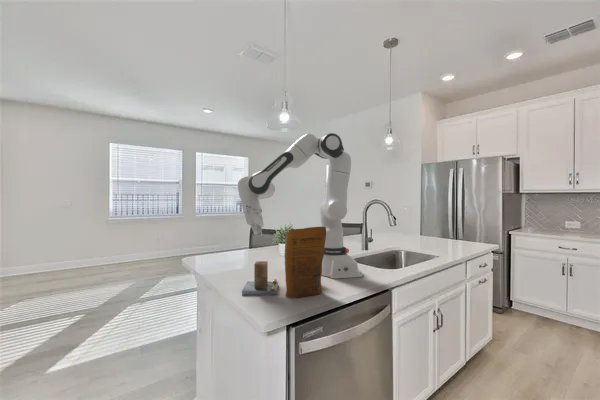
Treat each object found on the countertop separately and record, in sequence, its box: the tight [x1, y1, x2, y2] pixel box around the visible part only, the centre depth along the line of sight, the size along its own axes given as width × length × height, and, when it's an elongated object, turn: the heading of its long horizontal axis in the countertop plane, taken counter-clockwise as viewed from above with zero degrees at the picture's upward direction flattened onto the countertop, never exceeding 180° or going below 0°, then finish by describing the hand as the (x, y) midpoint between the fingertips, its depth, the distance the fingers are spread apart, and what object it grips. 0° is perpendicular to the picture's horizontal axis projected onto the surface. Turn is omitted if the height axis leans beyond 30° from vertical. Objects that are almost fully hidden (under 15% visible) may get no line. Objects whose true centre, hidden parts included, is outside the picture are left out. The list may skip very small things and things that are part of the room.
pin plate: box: [241, 278, 279, 296], centre depth 118 cm, size 14×12×6 cm
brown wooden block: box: [253, 260, 269, 288], centre depth 118 cm, size 5×5×10 cm
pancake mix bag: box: [284, 226, 326, 299], centre depth 112 cm, size 7×19×28 cm, turn 112°
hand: (258, 234), depth 134 cm, fingers open, 8 cm apart
